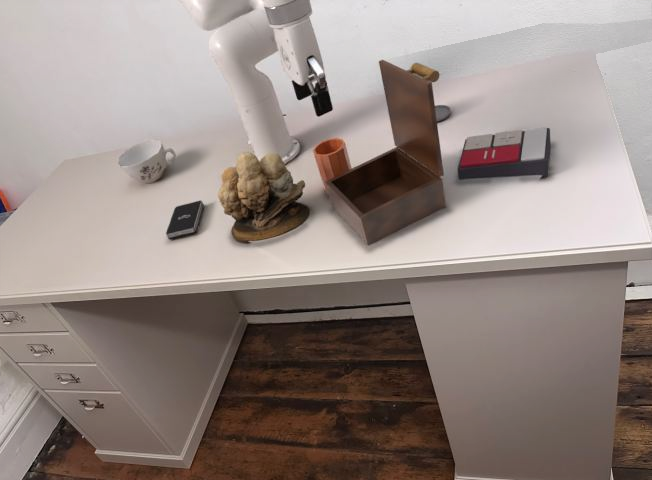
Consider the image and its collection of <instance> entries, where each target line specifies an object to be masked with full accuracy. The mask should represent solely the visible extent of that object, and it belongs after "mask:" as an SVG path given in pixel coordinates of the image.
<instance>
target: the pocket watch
mask: <svg viewBox="0 0 652 480" xmlns="http://www.w3.org/2000/svg"><path fill="white" fill-rule="evenodd" d="M435 111H436V119H437V122H440V121H443V120H445V119H447V118H448V117H449V116H450V114H451V112H452V111H451V107H449V106H448V105H446V104H445V105H444V104H438V105H436V104H435Z"/></svg>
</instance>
